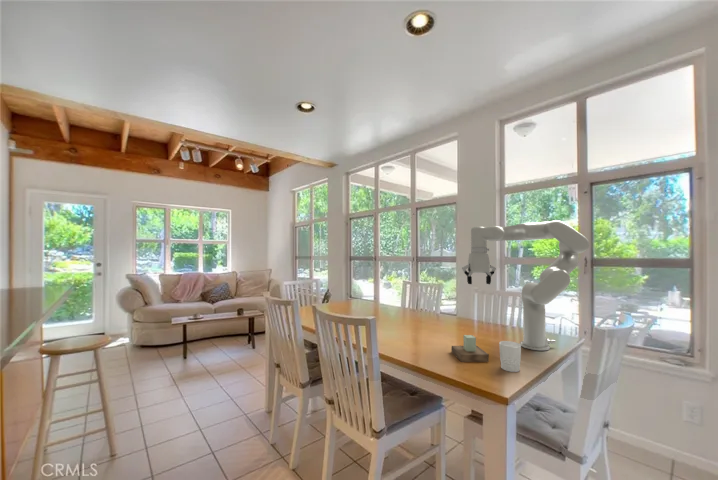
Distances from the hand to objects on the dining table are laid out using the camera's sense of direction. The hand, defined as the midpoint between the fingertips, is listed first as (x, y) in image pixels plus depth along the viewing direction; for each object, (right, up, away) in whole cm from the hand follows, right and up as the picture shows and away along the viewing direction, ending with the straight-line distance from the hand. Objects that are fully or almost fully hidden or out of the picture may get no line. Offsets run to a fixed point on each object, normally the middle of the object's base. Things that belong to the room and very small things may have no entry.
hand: (479, 284), depth 156 cm
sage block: (-12, -27, -20) cm, 36 cm away
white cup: (-1, -29, -34) cm, 45 cm away
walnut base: (-12, -30, -20) cm, 38 cm away
